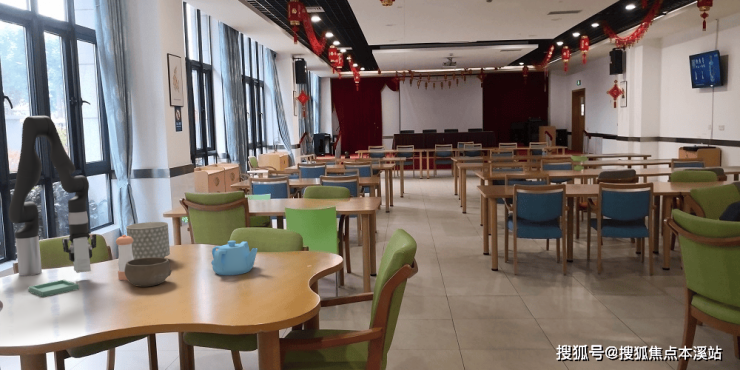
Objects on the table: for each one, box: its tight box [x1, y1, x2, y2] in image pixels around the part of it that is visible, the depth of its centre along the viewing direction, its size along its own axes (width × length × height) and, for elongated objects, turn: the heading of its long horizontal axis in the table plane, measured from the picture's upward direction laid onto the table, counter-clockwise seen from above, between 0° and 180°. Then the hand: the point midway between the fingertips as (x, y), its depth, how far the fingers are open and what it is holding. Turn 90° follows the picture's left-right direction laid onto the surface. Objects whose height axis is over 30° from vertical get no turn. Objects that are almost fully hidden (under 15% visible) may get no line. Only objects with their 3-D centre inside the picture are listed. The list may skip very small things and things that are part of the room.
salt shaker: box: [115, 234, 134, 281], centre depth 265 cm, size 7×7×19 cm
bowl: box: [125, 257, 172, 288], centre depth 254 cm, size 17×18×10 cm
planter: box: [125, 221, 171, 259], centre depth 297 cm, size 19×19×18 cm
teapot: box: [210, 240, 258, 276], centre depth 272 cm, size 19×19×14 cm
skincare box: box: [72, 237, 92, 274], centre depth 265 cm, size 8×6×15 cm
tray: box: [28, 279, 80, 298], centre depth 250 cm, size 14×14×2 cm
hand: (81, 259), depth 265 cm, fingers closed on skincare box, 6 cm apart
